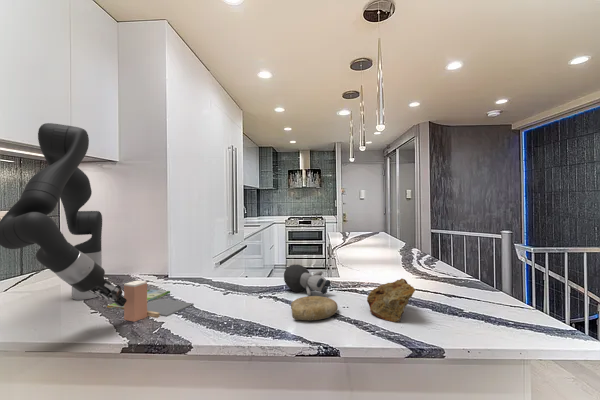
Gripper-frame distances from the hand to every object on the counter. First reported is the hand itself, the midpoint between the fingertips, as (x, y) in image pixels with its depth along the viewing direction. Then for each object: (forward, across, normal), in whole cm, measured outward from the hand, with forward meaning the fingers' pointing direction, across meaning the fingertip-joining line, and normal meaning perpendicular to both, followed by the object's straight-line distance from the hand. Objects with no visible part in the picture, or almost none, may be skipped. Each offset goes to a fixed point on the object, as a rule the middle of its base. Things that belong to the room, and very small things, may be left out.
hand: (123, 303), depth 91 cm
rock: (+31, -72, -23) cm, 82 cm away
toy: (+39, -40, -30) cm, 63 cm away
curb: (+9, 0, -1) cm, 9 cm away
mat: (+15, 0, -6) cm, 16 cm away
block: (+7, 0, +1) cm, 7 cm away
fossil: (+24, -50, -16) cm, 58 cm away
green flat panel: (+18, +15, -8) cm, 25 cm away
